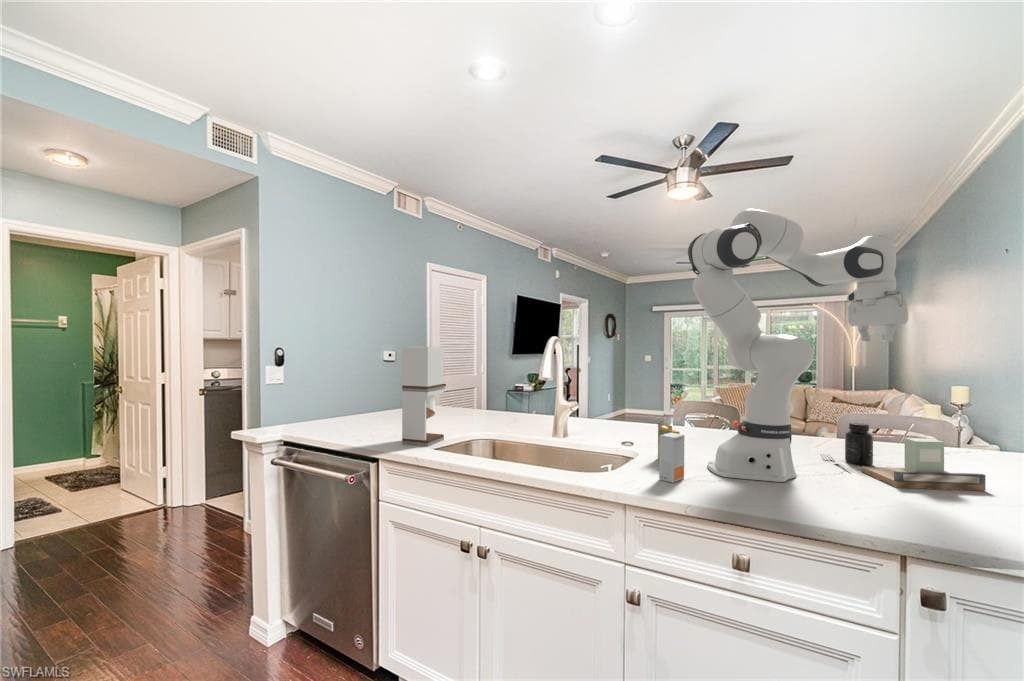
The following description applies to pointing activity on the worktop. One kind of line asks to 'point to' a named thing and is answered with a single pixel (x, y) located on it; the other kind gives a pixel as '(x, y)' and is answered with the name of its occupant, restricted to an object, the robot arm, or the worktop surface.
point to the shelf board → (927, 479)
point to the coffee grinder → (420, 392)
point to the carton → (924, 455)
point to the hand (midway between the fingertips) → (876, 341)
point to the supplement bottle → (859, 445)
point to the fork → (837, 464)
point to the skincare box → (671, 457)
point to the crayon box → (664, 432)
